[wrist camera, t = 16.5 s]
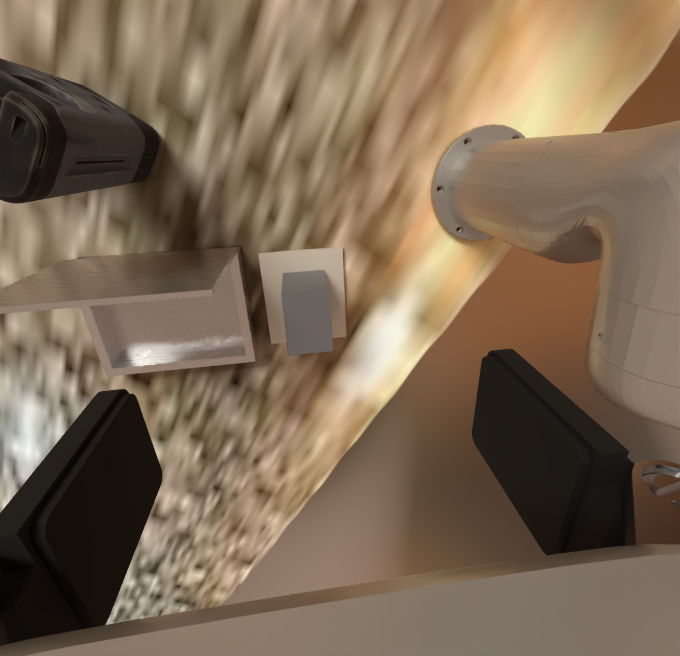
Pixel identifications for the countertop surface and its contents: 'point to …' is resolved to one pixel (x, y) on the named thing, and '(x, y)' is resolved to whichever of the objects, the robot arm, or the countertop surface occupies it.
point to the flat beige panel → (298, 262)
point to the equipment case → (150, 307)
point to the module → (307, 312)
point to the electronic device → (66, 138)
